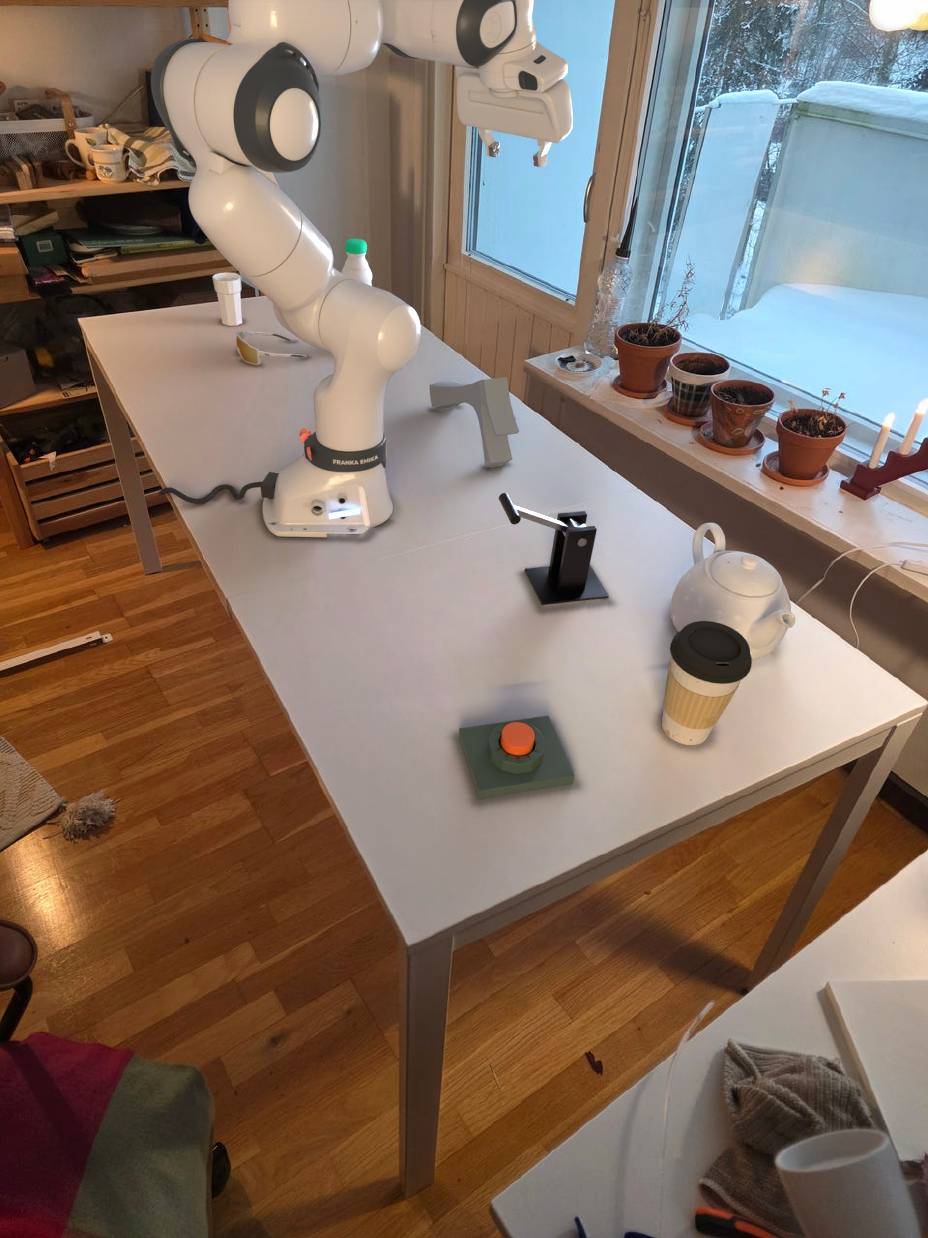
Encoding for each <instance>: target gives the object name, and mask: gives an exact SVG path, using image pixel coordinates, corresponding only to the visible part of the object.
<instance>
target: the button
mask: <svg viewBox="0 0 928 1238" xmlns="http://www.w3.org/2000/svg"><path fill="white" fill-rule="evenodd" d="M534 738H535V734H534V731H533V730H532V728H531V727H529V726H528V725H526V724H524V723H520V722H513V723H510V724H508V725H506V726H505V727H504V728H503V730H502V736H501V746H502V748H503V750H504V751H505V752H507V753H508V754H510V755H513V756H524V755H527V754H528V753H530V752H531V750H532V748H533V744H534Z"/></svg>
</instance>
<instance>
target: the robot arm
mask: <svg viewBox="0 0 928 1238" xmlns="http://www.w3.org/2000/svg"><path fill="white" fill-rule="evenodd" d="M227 5H228V10H227V11H228V19H229V24H230V33H229V35H228V38H227V39H226V43H228V44H226V43H219V42H210V41H208V40H206V39H202V38H184V39H179V40H177V41H174V42H172V43H169V44H167V46H165V47H164V48H163V49H162V50H160V51H159V52H158V54H157V56H156V57H155V59H154V62H153V65H152V68H151V74H150V89H151V94H152V99H153V101H154V102H153V103H154V106H155V108H156V110H157V113H158V115H159V117H160V119H161V121H162V123H163V125H164V126H165V127H166V129H167V131H168V132H169V133H170V137H171V139H172V142H173V145H174V148H175V150H176V152H177V154H178V155H179V156H180V157H181V158H182V159H184V160H186V161H188V162H190V163H194V164H195V165H196V169H195V174H194V175H193V177H192V180H191V182H190V185H189V188H188V206H189V207H188V208H189V210H190V213H191V216H192V217H193V219H194V221H195V222H196V224H197V225H198V227H199V228H200V230H201V231H202V232H203V234H204V235H205V236H206V237H207V239H208V240H209V241H210V243H211V244H212V246H214V248H215V249H216V250H217V251H218V252H219V253H220V255H222V256H223V258H225V260H226V261H227V262H228V263H230V265H232V266H233V267H234V268H235V269H236V270H237V271H238V272H239V273H240V274H241V275H242V276H243V277H244V278H246V279H247V280H248V282H250V283H251V284H252V285H253V286H254V287H255V288H256V289H258V290H259V291H260V292H261V293H262V294H263V295H264V296H265V297H266V298H267V299H268V300H269V301H271V303H272V308H273V312H274V317H275V318H276V320H277V322H278V323H279V324H280V325H281V326H282V327H283V328H285V329H286V330H287V331H288V332H289V333H291V334H292V335H293V336H295V337H296V338H297V339H299V340H301V341H302V342H304V343H306V344H307V345H308V344H309V345H311V346H313V347H316V348H318V349H320V350H323V351H325V352H328V353H330V354H331V355H332V357H333V360H334V368H333V373H332V374H329V375H328V376H326V377H325V378H323V379H322V380H321V381H320V382H319V383H318V384H317V386H316V387H315V390H314V392H313V409H314V425H315V426H314V427H315V431H314V432H313V433H312V431H311V430H310V429H309V428H307V427H304V428H302V429H300V431H299V434H298V435H299V440H300V442H301V443H302V444H303V451H304V453H303V454H301V455H299V457H298V458H296V459H295V460H293V461H292V462H290V463H289V464H287V465H286V466H284V467H283V468H282V469H280V471H279V472H273V471H269V472H268V473H267V474H266V476H264V478H263V480H262V481H254V482H249V483H247V484H245V485H243V486H242V487H241V489H240V491H239V493H238V492H237V490H236V488H235V487H234V486H233V485H231V484H226V483H225V484H224V483H223V484H219V485H217V486H215V487H214V488H213V489H212V490H211V491H210V492H209V493H208V494H207V495H205V496H204V497H200V498H195V497H190V496H188V495H186V494H184V493H183V492H181V491H180V490H178V489H176V488H174V487H169V486H167V487H164V488H162V489H161V490H159V492H158V493H157V494H158V495H159V496H164V495H166V494H168V493H170V494H173V495H174V496H176V497H177V498H179V499H181V500H183V501H184V502H187V503H189V504H193V505H201V504H205V503H208V502H210V501H211V500H212V499H213V498H215V496H216V495H217V494H218V493H219V492H221V491H226V490H227V491H229V492H230V493H231V495H232V496H233V498H234V499H235V500H242V499H243V498H244V497H245V495H246V493H247V492H248V491H249V490H250V489H255V488H260V494H261V498H263V501H262V518H263V523H264V525H265V527H266V529H268V531H269V532H270V533H272V534H273V535H275V536H277V537H291V538H293V537H294V538H328V534H338V535H339V534H340V535H341V534H342V535H343V534H344V535H345V534H346V535H362V534H364V533H366V532H367V531H369V529H374V528H375V527H378V526H379V525H381V524H383V523H384V522H386V521H387V520H388V519H389V518H390V517H391V515H392V514H393V511H394V504H393V501H392V498H391V495H390V492H389V487H388V483H387V476H386V467H387V461H388V442H387V437H386V434H385V431H384V417H385V416H384V413H385V396H386V392H387V387H388V385H389V382H390V380H391V378H392V377H393V375H394V374H395V373H397V372H398V371H400V370H402V369H404V368H405V367H406V366H408V364H410V362H411V361H412V360H413V359H414V357H415V356H416V354H417V352H418V350H419V347H420V344H421V340H422V324H421V320H420V316H419V314H418V312H417V311H416V310H415V308H413V307H412V306H411V305H409V304H408V303H407V302H405V301H404V300H402V299H401V298H400V297H398V296H396V295H395V294H394V293H392V292H390V291H387V290H385V289H382V288H378V287H376V286H373V285H372V286H370V285H368V284H365V283H362V282H359V281H357V280H354V279H352V278H350V277H348V276H346V275H344V274H342V273H341V272H342V271H339V270H338V269H336V268H335V267H334V259H335V258H334V252H333V249H332V246H331V244H330V242H329V241H328V239H326V237H325V236H324V235H323V234H322V233H321V232H320V231H319V229H318V228H317V227H316V226H315V225H314V224H313V223H312V221H311V220H310V219H309V218H308V217H307V216H306V215H305V214H304V213H303V211H301V209H300V208H299V207H298V206H297V205H296V204H295V203H294V201H293V200H292V199H291V198H290V197H289V196H288V195H287V194H286V193H285V192H284V191H283V190H282V189H281V188H280V185H279V183H278V181H277V180H276V178H275V175H274V173H275V174H276V173H279V174H284V173H292V172H295V171H298V170H301V169H302V168H304V167H305V166H306V165H308V163H309V162H310V161H311V160H312V159H313V157H314V155H315V153H316V151H317V148H318V146H319V142H320V138H321V134H322V123H323V122H322V121H323V120H322V118H323V115H322V114H323V110H322V109H323V108H322V101H321V96H320V84H319V80H318V77H331V76H343V75H347V74H351V73H356V72H358V71H361V70H363V69H366V68H368V67H369V66H370V65H371V64H373V61H374V60H375V58H376V56H377V54H378V53H379V50H380V47H381V44H382V45H384V46H385V47H387V49H389V50H390V51H391V52H393V53H394V54H395V55H397V56H399V57H400V58H403V59H412V60H425V61H431V62H437V63H443V64H449V65H454V66H455V70H454V71H455V79H456V89H455V90H456V94H455V95H456V111H457V117H458V120H459V122H460V123H461V124H462V125H463V126H465V127H466V126H467V127H473V128H477V131H478V132H477V133H478V135H479V138H480V139H481V141H482V142H483V144H484V146H485V150H486V156H487V157H491V158H497V156H499V155H500V154H501V149H500V148H501V147H500V146H501V145H500V141H496V140H495V137H494V135H493V133H492V132H496V133H502V134H507V135H513V136H517V137H521V138H522V137H523V138H527V139H532V140H536V144H537V146H538V147H539V149H538V151H537V152H536V153H534V154H533V155H532V160H533V162H532V163H533V167H537V168H542V169H543V168H544V167H545V166H547V163H548V153H549V150H550V148H551V145H552V144H559V143H560V142H562V141H563V140H564V139H565V138H567V137H568V136H569V135H570V133H571V132H572V130H573V125H574V117H573V105H572V104H573V103H572V95H571V90H570V87H569V84H568V83H567V81H566V80H565V79H564V78H565V76H566V75H568V68H569V67H568V63H567V60H566V59H565V58H563V57H561V56H560V55H558V54H557V53H555V52H553V51H552V50H550V49H548V48H547V47H546V46H544V45H543V44H541V43H540V42H538V39H537V30H536V28H535V24H534V19H533V12H534V6H535V0H228V4H227Z"/></svg>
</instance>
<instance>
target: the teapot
mask: <svg viewBox="0 0 928 1238" xmlns="http://www.w3.org/2000/svg"><path fill="white" fill-rule="evenodd" d="M708 530H709V531H710V533H712V536H713V539H714V548H713V549H714V550H713V552H712V554H710V555H709V556H708V557H706V558H704V547H703V542H704V537H705V535H706V533H707V531H708ZM691 546H692V547H691V549H692V550H691V551H692V559H693V564H694V565H692V566H691V567H689V568H688V569H687V570H686V571H685V572H684V574H682V576H681V577H680V578H679V580H678V581H677V584H676V585H675V588H674V590H673V591H672V596H671V600H670V607H669V608H670V609H669V611H670V612H669V613H670V619H671V621H672V624H673V626H674V628H675V630H676V631H677V633H678V632H679V631H681V630H682V629H683V628H684V627H685V626H686V625H688V624H690V623H693V622H697V621H712V622H717V623H721V624H724V625H726V626H728V627H731V628H732V629H734V630H736V631H737V632H738V633H740V634H741V635H742V636H743V637H744V638H745V639H746V641H747V643H748V644H749V647H750V654H751V657H752V661H755V660H758V659H761V658H763V657H765V656H767V655H769V654H771V653H772V652H773V651H774V650H775V649H776V648H777V647H778V646H779V645H780V643H781V642H782V641H783V639H784V638H785V636H786V633H787V632H788V629H790V628H792V627H794V625H795V624H796V616H795V614H794V613H792V605H791V600H790V596H789V592H788V590H787V588H786V586H785V584H784V582H783V578H782V576H781V574H780V573H779V571H778V570H777V569H776V568H775V567H774V566H773V565H772V564H770V563H769V562H768V561H766V560H765V559H764V558H762V557H760V556H758V555H756V554H752V553H748V552H745V551H739V550H726V536H725V533H724V531H723V529H722V528H721V526H720V525H719V524H718V523H715V522H706V523H702V524H701V525H699V526H698V528H697V529H696V530H695V532H694V534H693V538H692V545H691Z"/></svg>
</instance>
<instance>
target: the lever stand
mask: <svg viewBox="0 0 928 1238" xmlns="http://www.w3.org/2000/svg"><path fill="white" fill-rule="evenodd" d="M556 517H557V518H556V520H558V521H561V522H564V523H566V524H567V522H568V521H569V519H573V520H576V521H578V522H581V523H584V524H585V525H586V527H575V528H567V530H566V536H564V534H563V532H562V531H560V530H557V529H554V536H553V542H552V547H551V554H550V558H549V559H550V560H549V566H537V567H529V568H524V573H525V574H526V576H527V579H528V580H529V582H530V584H531V586H532V589H533V591H534V592H535V594H536V597H537V598H538V601H539V603H540V605H541V606H548V605H558V604H565V603H574V602H583V601H585V602H586V601H592V600H603V599H608V598H610V595H609V594H608V592H607V591H606V589H605V588H604V586H603V584H602V582H601V581H600V579H599V577H598V575H597V574H596V572H595V570H594V569H593V568H592V566H591V561H592V555H593V551H594V546H595V540H596V536H597V530H598V528H597V527H596V525H588V526H587V519H588V513H587V512H586V510H582V511H571V512H559V513H557V516H556Z"/></svg>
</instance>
